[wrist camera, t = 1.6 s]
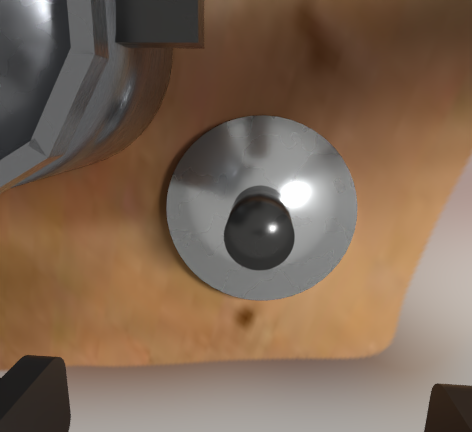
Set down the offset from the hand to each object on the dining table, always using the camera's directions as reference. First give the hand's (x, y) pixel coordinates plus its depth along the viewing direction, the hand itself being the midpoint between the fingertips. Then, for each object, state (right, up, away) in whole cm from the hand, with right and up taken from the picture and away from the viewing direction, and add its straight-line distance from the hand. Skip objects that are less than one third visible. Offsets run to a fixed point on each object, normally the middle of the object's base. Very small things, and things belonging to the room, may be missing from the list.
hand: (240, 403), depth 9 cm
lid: (+2, +5, +17) cm, 18 cm away
